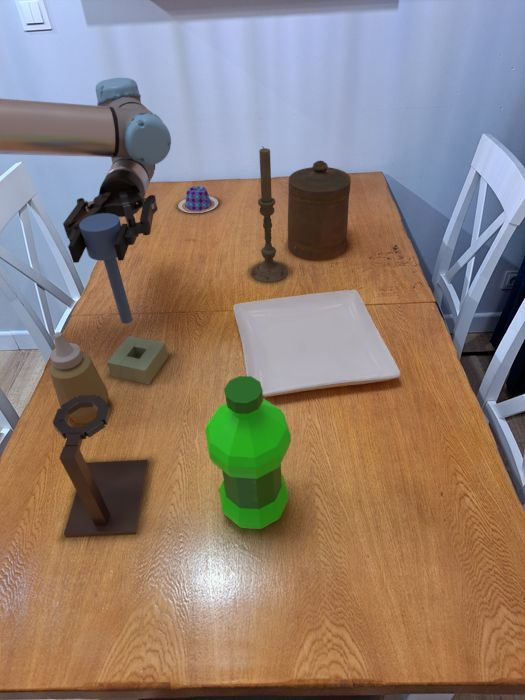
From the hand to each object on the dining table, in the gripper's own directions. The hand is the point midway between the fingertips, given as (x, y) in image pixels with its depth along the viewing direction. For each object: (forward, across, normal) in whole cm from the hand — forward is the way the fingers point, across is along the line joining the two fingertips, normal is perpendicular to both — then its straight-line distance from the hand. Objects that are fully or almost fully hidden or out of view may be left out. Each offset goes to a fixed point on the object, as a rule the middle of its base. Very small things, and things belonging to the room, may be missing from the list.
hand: (96, 253), depth 72 cm
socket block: (-5, 0, -28) cm, 29 cm away
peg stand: (+24, 0, -28) cm, 37 cm away
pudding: (-75, -6, -28) cm, 81 cm away
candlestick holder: (-36, -26, -28) cm, 53 cm away
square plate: (-8, -33, -28) cm, 44 cm away
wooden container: (-47, -39, -28) cm, 67 cm away
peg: (-5, 0, -16) cm, 17 cm away
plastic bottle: (+26, -22, -28) cm, 44 cm away
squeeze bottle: (+6, +7, -28) cm, 30 cm away
